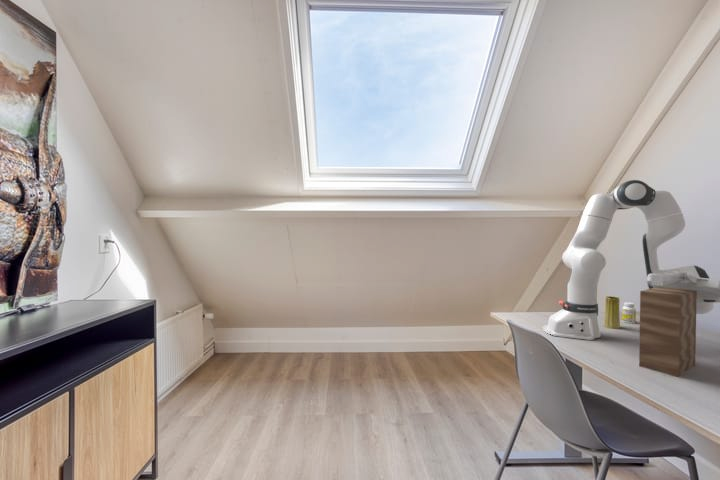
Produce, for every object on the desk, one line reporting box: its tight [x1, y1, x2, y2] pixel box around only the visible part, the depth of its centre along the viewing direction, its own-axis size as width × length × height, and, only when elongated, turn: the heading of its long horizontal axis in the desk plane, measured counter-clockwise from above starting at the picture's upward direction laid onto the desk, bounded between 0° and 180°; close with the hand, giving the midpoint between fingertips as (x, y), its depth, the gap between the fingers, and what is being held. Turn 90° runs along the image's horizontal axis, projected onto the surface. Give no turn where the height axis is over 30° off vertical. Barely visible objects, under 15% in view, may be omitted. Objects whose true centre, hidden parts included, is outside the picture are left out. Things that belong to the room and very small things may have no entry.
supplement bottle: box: [621, 301, 637, 324], centre depth 164 cm, size 5×5×10 cm
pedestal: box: [638, 287, 697, 378], centre depth 112 cm, size 16×10×26 cm, turn 120°
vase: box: [603, 296, 621, 330], centre depth 156 cm, size 6×6×14 cm
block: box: [651, 271, 687, 286], centre depth 112 cm, size 22×3×3 cm, turn 120°
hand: (677, 274), depth 116 cm, fingers closed on block, 3 cm apart
